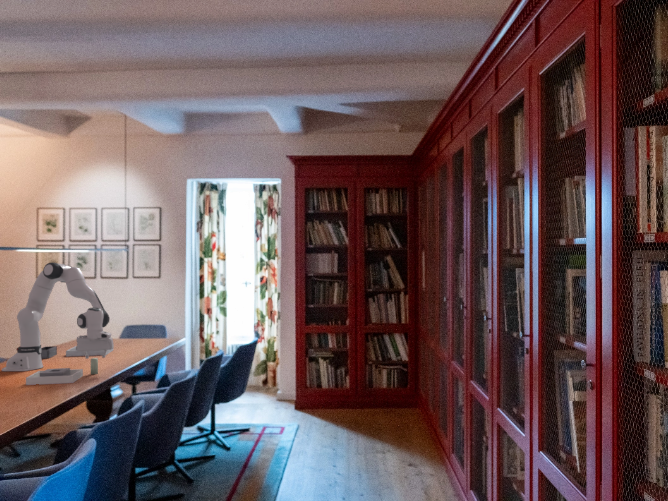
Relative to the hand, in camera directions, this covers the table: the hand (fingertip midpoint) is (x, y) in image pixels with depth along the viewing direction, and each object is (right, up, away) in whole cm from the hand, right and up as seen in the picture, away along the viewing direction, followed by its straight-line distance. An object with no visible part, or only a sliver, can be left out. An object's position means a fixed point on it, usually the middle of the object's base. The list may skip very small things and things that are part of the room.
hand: (95, 358), depth 316 cm
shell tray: (-36, -11, +71) cm, 80 cm away
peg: (0, -9, -1) cm, 9 cm away
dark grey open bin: (-61, -11, +58) cm, 85 cm away
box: (-15, -9, -17) cm, 25 cm away
